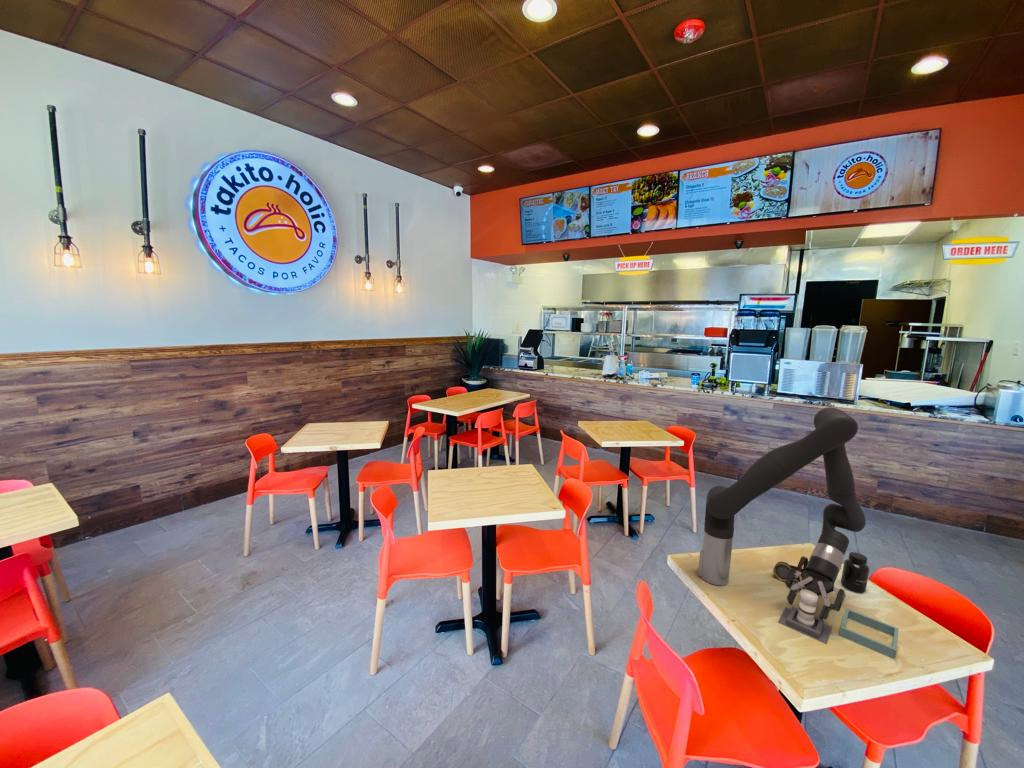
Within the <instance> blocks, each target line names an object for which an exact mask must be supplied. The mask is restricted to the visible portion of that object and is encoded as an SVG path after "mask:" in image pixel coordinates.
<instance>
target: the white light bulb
mask: <svg viewBox="0 0 1024 768" xmlns="http://www.w3.org/2000/svg"><path fill="white" fill-rule="evenodd" d="M818 598H819V596H818V595H817V594H815V593H814V592H812V591H810V590H806V589H803V590H801V591H800V593H799V603H798V604H799V605H798V609H799V610H798V614H797V621H796V622H798V623H801V624H803V625H805V626H808V627H810V628H812V629H813V628H814V621H815V619H814V618H815V616H816V610H817V605H818Z"/></svg>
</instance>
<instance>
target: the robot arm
mask: <svg viewBox="0 0 1024 768" xmlns="http://www.w3.org/2000/svg"><path fill="white" fill-rule="evenodd" d="M813 425H814V428H815V429H813V431H811V432H809V433H808V434H807V435H806V436H804V437H802V438H801V439H799V440H796V441H793V442H791V443H787V444H784V445H781V446H778V447H776V448H774V449H771V450H769V451H768V452H767V453H765V454H764V455H762V456H761V457H760V458H758V459H757V460H756V461H754V463H753V464H752V465H750V467H749V468H748V469H747V470H746V471H745V473H744V474H743V475H742V476H741V477H740V478H739V479H738V480H737V481H736V482H734V483H733V484H732V485H730V486H728V487H727V486H724V485H717V486H713V487H712V488H711V489H709V491H708V492H707V494H706V502H705V513H704V526H703V538H702V548H701V549H700V551H699V558H698V569H697V576H698V577H700V578H701V579H702V580H704V581H705V582H707V583H709V584H712V585H715V586H726V585H727V584H728V583H729V579H730V571H731V569H730V568H731V560H732V551H733V544H734V543H733V541H734V533H735V515H737V514H738V513H739V512H740V511H741V510H743V509H744V508H745V507H747V505H749V504H750V503H751V502H752V501H753V500H755V499H756V498H758V497H759V496H761V495H763V494H765V493H766V492H768V491H770V490H772V489H773V488H774V487H776V486H778V485H779V484H781V483H782V482H784V481H786V480H787V479H788V478H790V477H791V476H793V475H794V474H796V473H797V472H799V471H800V470H802V469H803V468H805V467H806V466H808V465H809V464H811V463H813V461H815V460H817V459H818V458H819V457H822V458H823V465H824V470H825V471H824V473H825V481H826V484H825V485H826V492H827V497H828V499H829V500H831V502H834V503H830V504H829V503H828V505H826V506H825V507H824V509H823V512H822V529H821V534H820V536H819V539H818V541H817V543H816V545H815V547H814V548H813V551H812V552H811V554H810V557H809V558H808V564H807V566H806V568H805V571H804V572H802V573H801V572H799V571H797V570H795V568H791V570H790V573H789V575H788V577H787V579H786V582H785V581H784V583H785V585H786V588H787V589H789V592H788V594H787V596H786V600H787V602H788V604H789V605H790V606H793V604H794V601H795V600H796V597H797V593H799V592H801V590H803V589H805V590H806V589H807V590H810V591H812V592H814V593H815V594H817V596H818V597H820V596H821V597H822V600H823V602H824V604H823V605H822V608H821V610H820V612H819V616H818V618H820V619H821V620H827V619H828V616H829V614H830V612H831V611H836V612H839V611H840V610H841V608H842V606H843V605H842V604H843V603H844V600H845V598H846V592H845V590H844V589H843V588H838V587H835V584H836V581H837V578H838V576H839V573H840V570H841V569H842V568H843V566H842V565H843V564H844V557H845V554H846V552H847V550H848V548H849V544H850V540H849V538H848V536H847V535H845V534H844V533H842V532H840V531H839V530H836V528H838V529H839V528H840V529H842V530H846V531H850V532H854V533H858V532H861V531H862V530H863V529H864V528H865V526H866V517H865V513H864V511H863V509H862V507H861V505H860V503H859V500H858V498H857V496H856V495H857V494H856V487H855V485H856V484H855V479H854V474H853V469H852V467H851V463H850V461H849V458H848V454H847V449H846V445H845V444H846V443H848V442H850V441H851V440H852V439H853V438H855V436H857V433H858V430H859V425H858V422H857V421H856V420H855V418H853V417H852V416H851V415H849V414H848V413H846V412H845V411H843V410H841V409H839V408H836V407H824V408H822V409H820V410H819V411H818V412H816V413H815V415H814V418H813ZM799 576H800V578H801V580H800V582H798V583H796V584H794V583H795V582H794V580H795V578H798V577H799ZM833 592H834V594H835V596H836V597H835V599H834V602H833V603H830V599H829V597H828V595H829V594H830V593H833Z"/></svg>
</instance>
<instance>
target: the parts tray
mask: <svg viewBox="0 0 1024 768" xmlns="http://www.w3.org/2000/svg"><path fill="white" fill-rule="evenodd" d="M842 617H843V618H842V621H841V624H840V630H839V636H840V637H842V638H844V639H847V640H849V641H851V642H854V643H856V644H859V645H860V646H863V647H865V648H867V649H870V650H873V651H875V652H877V653H880V654H882V655H884V656H887V657H889V658H891V659H894V660H896V658H897V650H898V641H899V631H900V630H899V627H896V626H894V625H891V624H888V623H886V622H884V621H880V620H878V619H876V618H873V617H870V616H868V615H865V614H863V613H860V612H857V611H855V610H852V609H849V608H845V610H844V614H843V616H842ZM848 619H849V620H852V621H855V622H857V623H860V624H862V625H864V626H866V627H870V628H871V629H875V630H876V631H879V632H882V633H884V634H887V635H888V636H889V635H890V636H892V637H893V638H892V646H890V645H887V644H885V643H883V642H880V641H877V640H876V639H873V638H871V637H868V636H866V635H863V634H861V633H858V632H856V631H854V630H851V629H849V628H846V627H847V622H848Z"/></svg>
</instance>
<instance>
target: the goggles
mask: <svg viewBox="0 0 1024 768" xmlns="http://www.w3.org/2000/svg"><path fill="white" fill-rule="evenodd" d="M808 561H809V558H808V557H806V556H801V557H800V559H799V561H798V563H797V566H796V565H792V564H789V563H787V562H786V561H785V562H784V561H778V562H776V563H775V565H774V566H773V570H772V571H773V574H774V576H775V577H776V578H777V579H778V580H779V581H781V582H784V583H785V582H786V579H787V577H788V575H789V573H790V570H791V568H795V570H797V571H799V572H801V573H802V572H804V571H805V568H806V566H807V564H808ZM800 578H801V576H799V577H798V578H795V580H794V582H793V583H796V584H797V583H798V582H800V581H801V580H800ZM805 590H807V589H805Z"/></svg>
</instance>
